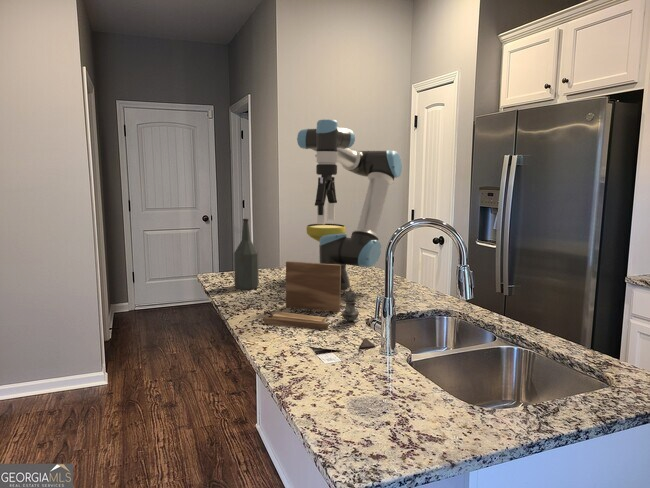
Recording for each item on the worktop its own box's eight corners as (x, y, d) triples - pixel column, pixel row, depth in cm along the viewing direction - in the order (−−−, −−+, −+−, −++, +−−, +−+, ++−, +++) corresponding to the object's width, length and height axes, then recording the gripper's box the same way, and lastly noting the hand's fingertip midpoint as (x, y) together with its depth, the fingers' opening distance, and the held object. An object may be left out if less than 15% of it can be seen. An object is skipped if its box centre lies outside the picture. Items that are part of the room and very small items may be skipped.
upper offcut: (278, 317, 164) (278, 311, 163) (325, 323, 158) (325, 317, 158) (272, 321, 160) (272, 315, 159) (320, 327, 154) (320, 321, 154)
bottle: (256, 290, 204) (255, 219, 200) (233, 290, 204) (231, 219, 200) (259, 284, 214) (259, 217, 210) (237, 284, 215) (236, 217, 210)
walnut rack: (285, 309, 178) (285, 261, 175) (342, 314, 172) (343, 264, 169) (263, 327, 158) (262, 273, 155) (327, 333, 152) (327, 277, 149)
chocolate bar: (375, 345, 141) (316, 352, 135) (375, 348, 141) (316, 356, 135) (362, 335, 149) (306, 341, 143) (362, 338, 149) (306, 345, 143)
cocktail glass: (300, 276, 232) (300, 224, 228) (334, 273, 240) (334, 222, 236) (315, 284, 216) (316, 228, 212) (351, 280, 223) (352, 227, 220)
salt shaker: (356, 326, 156) (357, 290, 155) (339, 324, 158) (339, 289, 156) (360, 321, 162) (361, 286, 160) (343, 319, 164) (344, 284, 162)
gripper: (325, 164, 187) (325, 218, 191) (306, 163, 164) (306, 225, 167) (344, 164, 185) (343, 219, 189) (327, 163, 162) (327, 226, 165)
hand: (326, 222), depth 178 cm, fingers open, 13 cm apart
